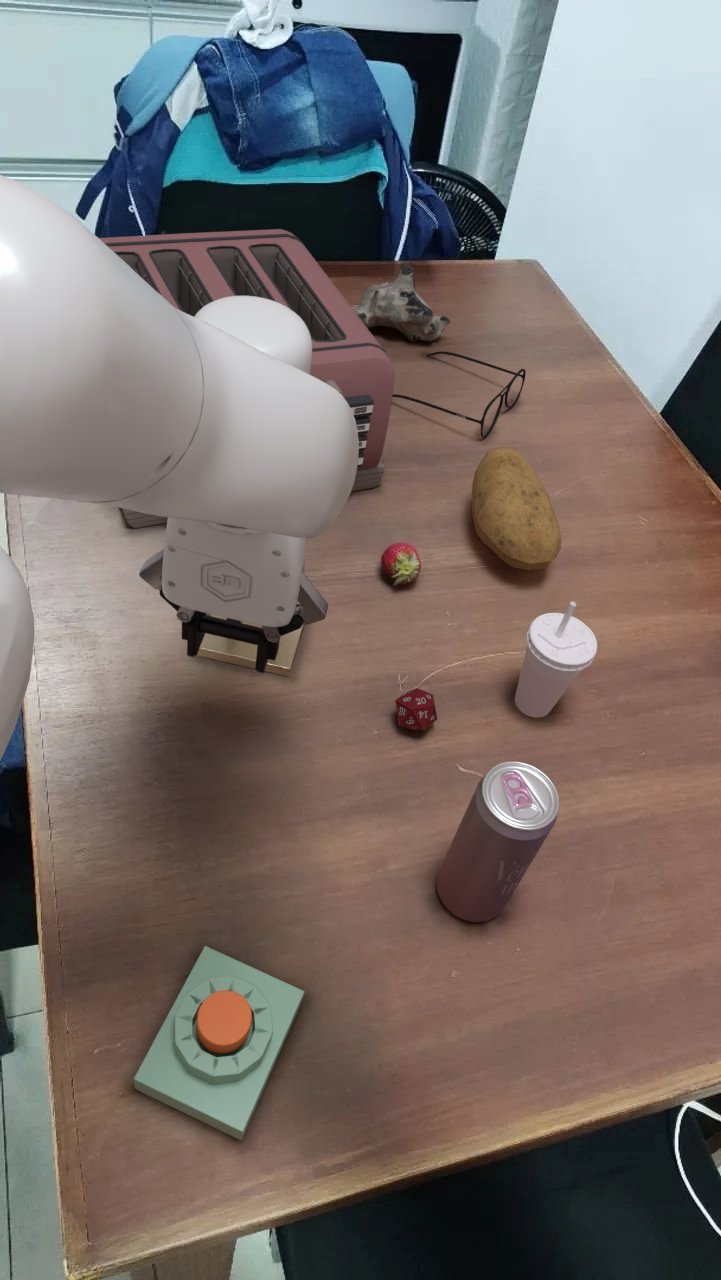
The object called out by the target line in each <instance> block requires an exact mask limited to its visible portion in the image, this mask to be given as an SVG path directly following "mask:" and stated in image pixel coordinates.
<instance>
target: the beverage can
mask: <svg viewBox="0 0 721 1280" xmlns="http://www.w3.org/2000/svg"><path fill="white" fill-rule="evenodd" d="M559 810H560V796H559V792H558V790H557V787H556V786H555V784H554V782H553V781H552V780H551V778H550V777H549V776H548V775H547V774H546V773H544V772H543V771H542V770H540V769H539V768H537V766H534V765H532V764H529V763H526V762H524V761H523V762H522V761H518V760H517V761H516V760H515V761H514V760H512V761H504V762H503V761H502V762H500V763H498V764H495V765H493V766H492V767H491V768H490V769H488V771H487V772H486V774H485V775H483V776H482V777H481V778H480V780H479V782H478V784H477V786H476V788H475V789H474V792H473V794H472V796H471V799H470V801H469V803H468V805H467V808H466V810H465V812H464V815H463V817H462V818H461V821H460V823H459V825H458V828H457V830H456V831H455V833H454V837H453V838H452V841H451V843H450V846H449V847H448V850H447V852H446V854H445V856H444V858H443V860H442V863H441V865H440V867H439V870H438V872H437V875H436V883H435V884H436V891H437V893H438V897H439V898H440V900H441V903H442V904H443V905H444V906H445V907H446V909H447V910H448V911H449V912H451V914H453V915H455V917H457V918H459V919H462V920H465V921H467V922H473V923H482V922H487V921H490V920H492V919H494V918H496V917H498V916H499V915H500V914H501V913H502V912H503V910H504V909H505V908H506V906H507V904H508V902H509V901H510V899H511V897H512V896H513V894H514V893H515V891H516V889H517V887H518V885H519V884H520V882H522V879H523V878H524V875H525V874H526V873H527V871H528V869H529V867H530V866H531V864H532V862H533V861H534V859H535V858H536V856H537V854H538V852H539V851H540V849H541V847H542V846H543V844H544V843H545V841H546V839H547V838H548V836H549V835H550V832H551V831H552V829H553V827H554V826H555V825H556V822H557V818H558V813H559Z"/></svg>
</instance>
